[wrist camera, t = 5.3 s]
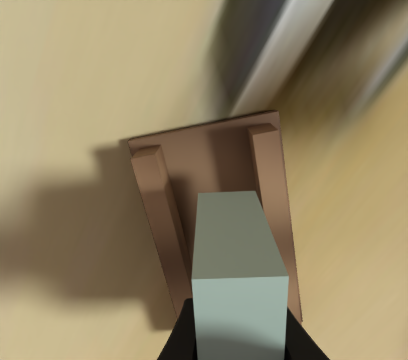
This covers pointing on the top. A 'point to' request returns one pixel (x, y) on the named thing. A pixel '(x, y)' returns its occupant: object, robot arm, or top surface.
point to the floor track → (212, 189)
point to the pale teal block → (237, 280)
